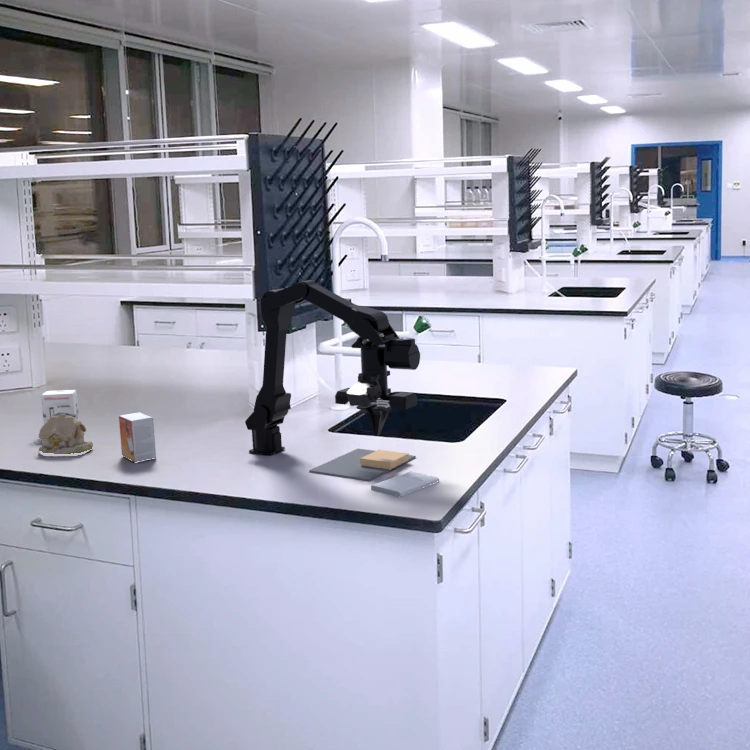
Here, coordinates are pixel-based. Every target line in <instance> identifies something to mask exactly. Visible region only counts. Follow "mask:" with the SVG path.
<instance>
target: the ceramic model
mask: <svg viewBox="0 0 750 750" xmlns="http://www.w3.org/2000/svg"><path fill="white" fill-rule="evenodd" d="M86 432H87V428H86V426H85V425H84V424H83V422H82V421H80V420H79V421H78V420H77V419H75V418H74V417H72V416H66V414H65V413H59V416H51V417H50V418H49V420H48V421H47V422H46V423H45V424H44V423H43V425H42V426H41V428H40V429H39V433H38V439H41V441H42V446H39V448H38V452H39V451H42V452H43V453H54V454H71V453H73V454H74V453H81V452H84V451H87V450H90V449H92V447H93V446H94V444H93V442H92V441H85V433H86ZM93 448H94V447H93Z"/></svg>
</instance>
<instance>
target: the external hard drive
mask: <svg viewBox="0 0 750 750" xmlns="http://www.w3.org/2000/svg"><path fill="white" fill-rule="evenodd" d="M437 481H439V482H440V478H439V477H438V476H433V475H428V474H423V473H421V472H416V471H412V470H410V471H408V472H404V473H403V474H402V473H401V474H400V475H396V476H394V477H391V478H389V479H385V480H383V481H380V482H377V483H374V484H371V485H370V490H372V491H376V492H380V493H383V494H387V495H392V496H395V497H399V496H400V497H399V498H401V496H402V497H405V496H407V495H409V494H411V492H412V493H414V492H413V491H415V492H417V491H419V490H418V489H420V490H422V489H424V488H423V487H425V488H427V487H429V486H428V485H430V484H433V483H435V482H437ZM435 484H436V483H435ZM433 485H434V484H433ZM426 486H427V487H426ZM430 486H431V485H430ZM421 488H422V489H421ZM416 490H417V491H416ZM406 494H407V495H406Z"/></svg>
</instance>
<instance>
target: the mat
mask: <svg viewBox="0 0 750 750" xmlns="http://www.w3.org/2000/svg"><path fill="white" fill-rule="evenodd" d="M375 451H376V450H372V449H364V448H356V449H354V450H351V451H349V452H347V453H345V454H343V455H340V456H338V457H335V458H334V459H331V460H329V461H327V462H324V463H322V464H320V465H317V466H315V467H313V468H311V469H309V470H308V472H309V473H314V474H321V475H326V476H327V475H328V476H333V477H334V476H335V477H340V478H347V479H354V480H360V481H367V482H371V481H372V480H373V481H374V479H377V478H379V477H381V476H382V475H384V474H387V473H388V472H390V471H393V470H394V469H396V468H399V467H400V466H402V465H404V464H406V463H407V462H410V461H412V460H414V459H416V458H417V457H416V455H412V454H411V455H410V454H409V460H408V461H406V462H404V463H402V464H400V465H398V466H396V467H395V468H393V469H391V470H389V469H382V468H375V467H368V466H363V465H360V458H362V457H364V456H366V455H368V454H371V453H373V452H375Z"/></svg>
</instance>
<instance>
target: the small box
mask: <svg viewBox="0 0 750 750" xmlns="http://www.w3.org/2000/svg"><path fill="white" fill-rule="evenodd" d="M118 423H119V435H120V449H121V456H122V455H123V456H125V457H127V458H129V459H131V460H132V461H134V462H137V461H142V460H146V459H152V458H156V459H157V450H156V436H155V425H154V417H153V416H149V415H147V414H145V413H142V412H140V411H139V412H134V413H127V414H121V415H119V416H118ZM132 461H131V462H132Z"/></svg>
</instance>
